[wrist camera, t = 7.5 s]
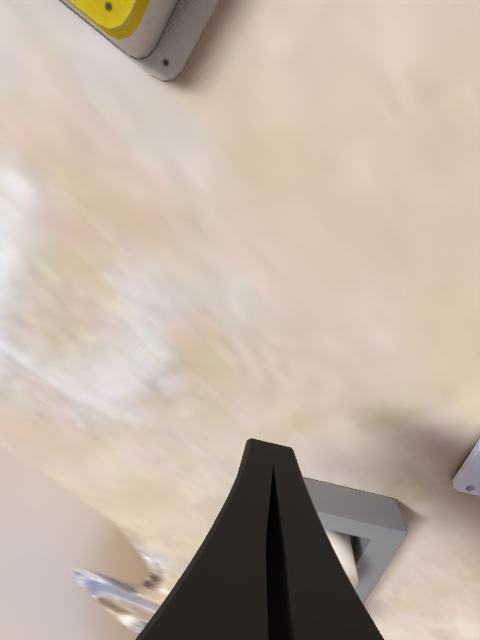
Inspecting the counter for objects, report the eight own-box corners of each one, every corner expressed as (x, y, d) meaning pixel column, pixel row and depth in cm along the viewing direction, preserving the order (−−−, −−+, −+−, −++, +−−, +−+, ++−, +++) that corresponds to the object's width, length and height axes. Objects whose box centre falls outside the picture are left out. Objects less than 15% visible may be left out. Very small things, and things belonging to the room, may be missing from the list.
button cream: (357, 520, 23) (368, 566, 20) (337, 558, 25) (344, 605, 22) (295, 505, 23) (298, 549, 20) (280, 544, 25) (280, 590, 22)
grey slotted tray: (395, 499, 23) (408, 532, 21) (310, 647, 32) (312, 682, 29) (269, 469, 23) (269, 499, 21) (218, 625, 32) (214, 658, 30)
